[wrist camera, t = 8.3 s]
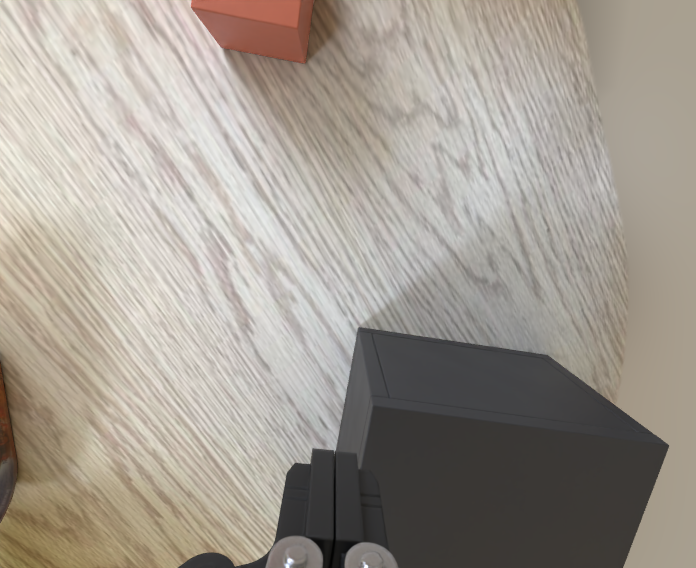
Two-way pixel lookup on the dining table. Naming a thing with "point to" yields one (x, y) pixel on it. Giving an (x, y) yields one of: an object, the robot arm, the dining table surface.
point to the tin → (6, 454)
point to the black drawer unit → (494, 456)
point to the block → (259, 26)
